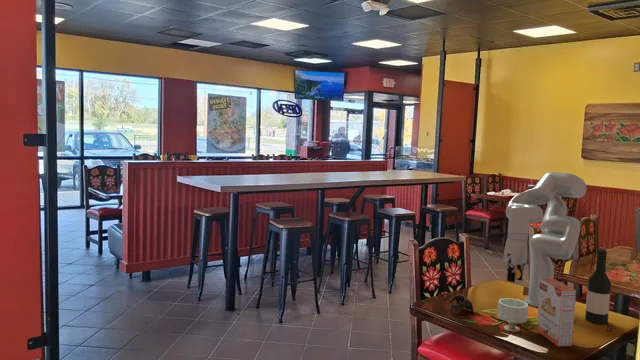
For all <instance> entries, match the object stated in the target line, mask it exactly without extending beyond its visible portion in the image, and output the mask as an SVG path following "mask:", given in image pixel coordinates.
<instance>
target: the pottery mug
mask: <svg viewBox="0 0 640 360" xmlns="http://www.w3.org/2000/svg"><path fill="white" fill-rule="evenodd" d="M454 301H456V302H457V304H453V302H454ZM449 310H450V312H452V311H453V312H458V311H459V312H460V311H462V310H463V311H466V310H469V311H472V314H473V315H474V313H475V312H474V306H473V303H472V301H471V299H469V298H468V297H467V296H466V295H464V294H460V293H459V294H456V295H454V296H452V297H451V298H450V300H449Z"/></svg>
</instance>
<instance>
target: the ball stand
mask: <svg viewBox="0 0 640 360" xmlns="http://www.w3.org/2000/svg"><path fill="white" fill-rule="evenodd" d="M507 323H508V324H506V325H504V326H503V328H504V331H508V332H509V331H511V332H510V333H519V332H520V330H521V329H520V327H518V326H516V325H517V324H518V323H517V322H516V321H513V320H509V321H508V322H507Z"/></svg>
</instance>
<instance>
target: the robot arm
mask: <svg viewBox="0 0 640 360" xmlns="http://www.w3.org/2000/svg"><path fill="white" fill-rule="evenodd" d="M586 193H587V183H586V181H585V180H584V179H583V178H581V177H580V176H578V175H576V174H573V173H569V172H557V171H551V172H545V174H543V175H542V176H541V178H540V179H539V180H538V182H537V183H536V184H535V185H534V187H533V188H530V189H527V190H524V191H523V192H520V193H518V194H516V195H514V196H513V197H512V198H511V200H510V201H509V202H508V204H507V205H506V208H505V216H506V217H507V218H508V225H507V226H508V227H507V239H506V241H505V246H504V252H503V260H502V261H503V263H504V267H505V268H506V272H507V275H506V281H507V282H511V283H515V282H516V280H517V281H519V282H520V281H521V282H522V281H523V273H524V268H525V266H526V264H527V263H528V252H530V270H529V282H528V283H529V284H528V296H526V297H525V298H524V299H523V301H524V302H526V303H527V304H529V305H528V306H531V307H535V308H538V307H539V291H540V279H554V275H555V274H554V272H555V265H554V261H552V259H551V258H553V259H557V260H558V259H559V260H569V259H570V258H571V257H572V256H573V253H574V250H575V248H576V245H577V241H578V238H579V236H580V232H581V223H580V220H579V219H578V218H576V217H574V216H568V215H567V214H568V207H567V204H566V203H565V201H564V200H563V199H562V197H563V198H564V197H565V198H575V199H580V198H583V197H584V196H585V195H586ZM545 204H546V205H547V206H546V209H545V212H544V211H543V209H542V208H541V207H540V205H545ZM540 222H541V223H540ZM538 223H540V226H539V227H540V231H541V232H542V233H536V234H534V235H532V236H531V237H530V239H528V238H529V228H530V227H529V225H530V224H538ZM528 240H529V244H528ZM528 245H529V250H530V251H528ZM515 268H516V269H518V270H519V271H520V272H521V276H520V278H518V279H515Z"/></svg>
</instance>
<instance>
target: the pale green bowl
mask: <svg viewBox="0 0 640 360" xmlns="http://www.w3.org/2000/svg"><path fill="white" fill-rule="evenodd" d="M496 315H497V318H498V319H499V320H501V321H502V322H507V323H508V321H509V320H513V321H516V322H517V324H525V323H528V317H529V305H528V304H527V303H526V302H524V300H521V299H517V298H510V297H506V298H505V297H503V298H500V299H498V301H497V313H496Z"/></svg>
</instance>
